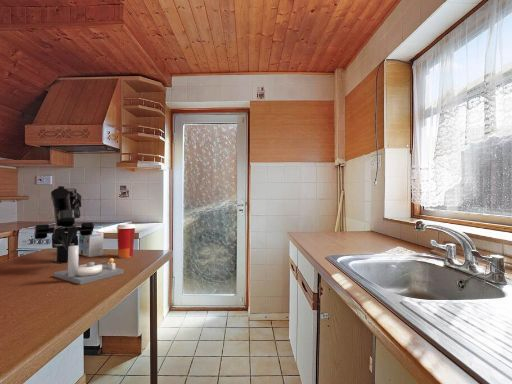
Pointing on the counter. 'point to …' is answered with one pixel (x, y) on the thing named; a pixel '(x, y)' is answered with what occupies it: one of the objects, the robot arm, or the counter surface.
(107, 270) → the stand
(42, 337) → the counter surface
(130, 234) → the coffee cup
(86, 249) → the light bulb box
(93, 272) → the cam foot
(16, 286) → the counter surface
